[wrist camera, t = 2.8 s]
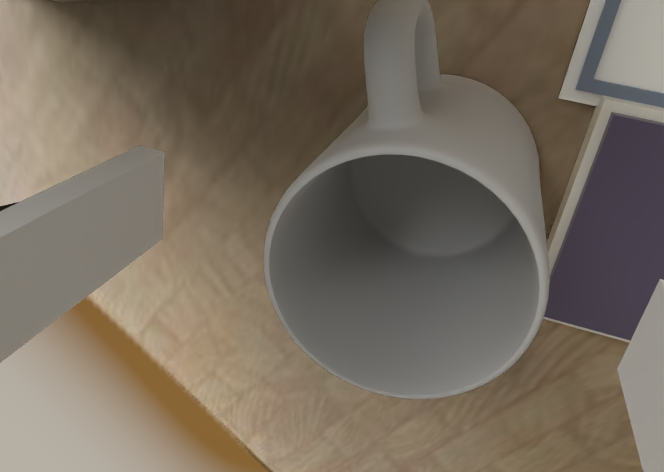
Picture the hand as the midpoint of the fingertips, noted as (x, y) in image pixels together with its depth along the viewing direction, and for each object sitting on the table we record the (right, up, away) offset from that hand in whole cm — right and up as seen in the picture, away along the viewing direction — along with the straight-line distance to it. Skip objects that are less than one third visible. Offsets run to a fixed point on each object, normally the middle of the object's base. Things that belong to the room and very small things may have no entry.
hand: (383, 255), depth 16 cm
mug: (+3, +5, +11) cm, 12 cm away
